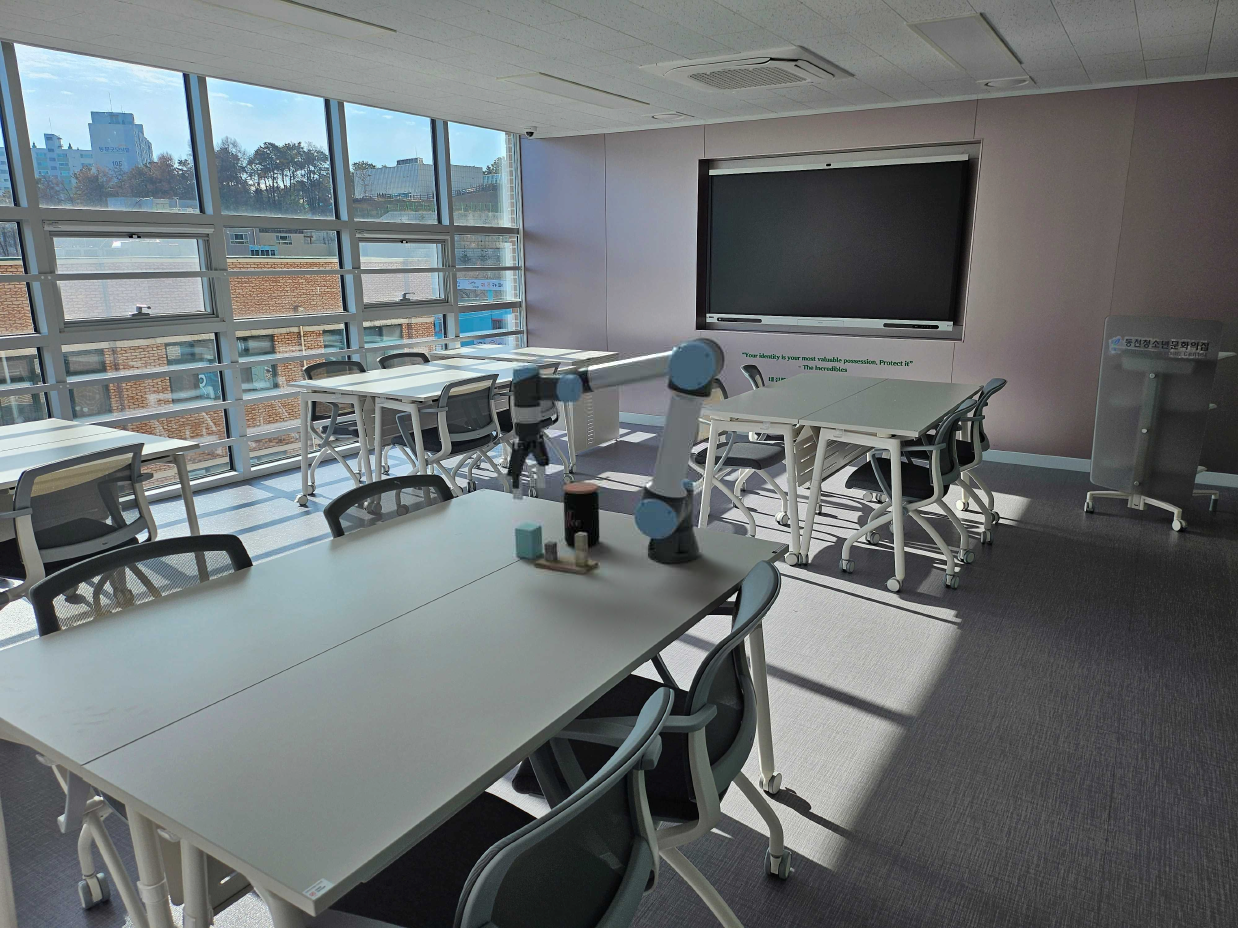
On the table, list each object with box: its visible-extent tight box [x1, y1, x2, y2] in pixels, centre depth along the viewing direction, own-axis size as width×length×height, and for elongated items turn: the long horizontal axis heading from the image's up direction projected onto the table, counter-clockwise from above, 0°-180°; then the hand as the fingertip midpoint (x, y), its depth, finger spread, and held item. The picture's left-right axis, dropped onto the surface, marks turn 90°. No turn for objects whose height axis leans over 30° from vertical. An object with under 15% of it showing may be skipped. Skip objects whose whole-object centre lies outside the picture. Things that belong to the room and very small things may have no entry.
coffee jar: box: [562, 481, 601, 548], centre depth 254 cm, size 11×11×18 cm
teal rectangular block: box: [514, 522, 543, 560], centre depth 246 cm, size 6×6×9 cm
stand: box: [534, 532, 599, 575], centre depth 235 cm, size 8×16×10 cm, turn 63°
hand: (530, 493), depth 240 cm, fingers open, 13 cm apart
